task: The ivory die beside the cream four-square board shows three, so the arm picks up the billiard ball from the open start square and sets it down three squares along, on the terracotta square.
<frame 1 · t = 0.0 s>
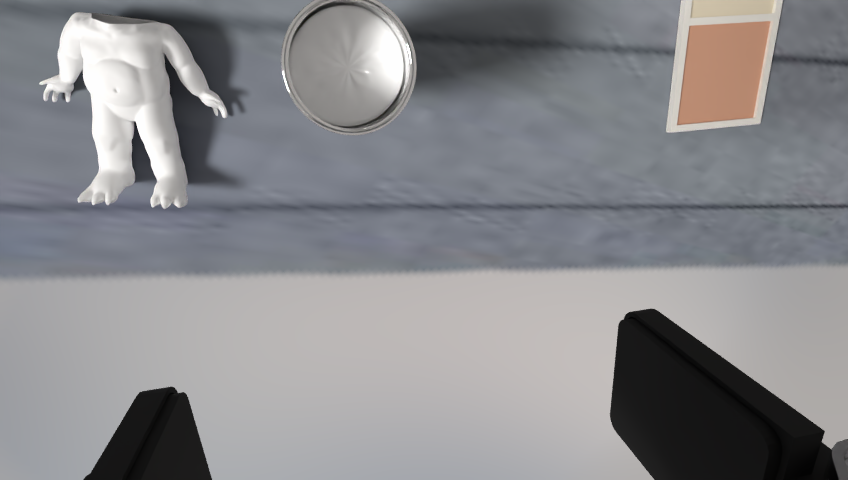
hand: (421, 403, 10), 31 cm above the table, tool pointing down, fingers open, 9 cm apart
toy creature: (146, 111, 35), on the table
beer glass: (342, 69, 37), on the table
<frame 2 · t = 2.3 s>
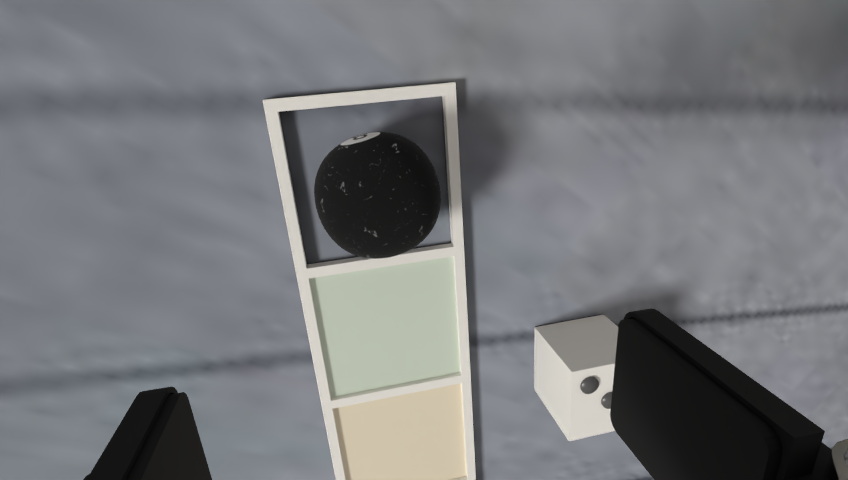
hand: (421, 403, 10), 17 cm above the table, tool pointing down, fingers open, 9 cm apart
billiard ball: (371, 181, 26), resting in board
die: (568, 352, 32), on the table
board: (396, 385, 30), on the table
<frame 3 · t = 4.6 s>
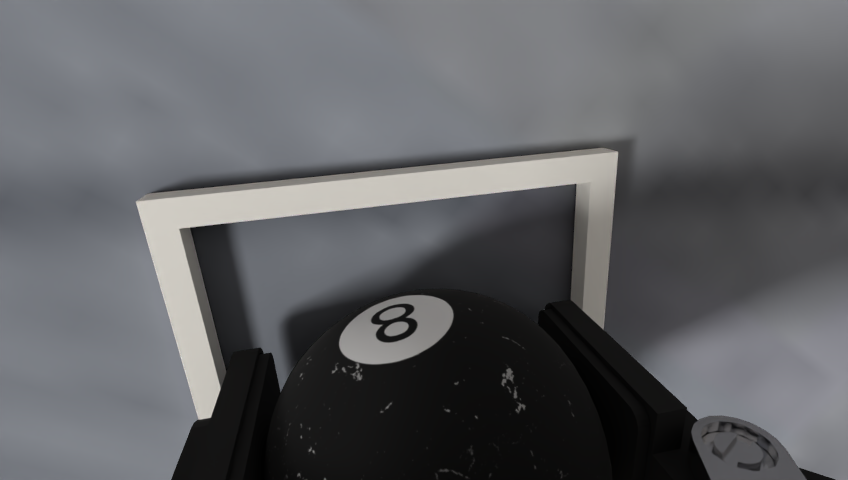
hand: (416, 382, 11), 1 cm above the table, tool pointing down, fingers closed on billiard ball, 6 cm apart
billiard ball: (408, 356, 12), resting in board, touching gripper
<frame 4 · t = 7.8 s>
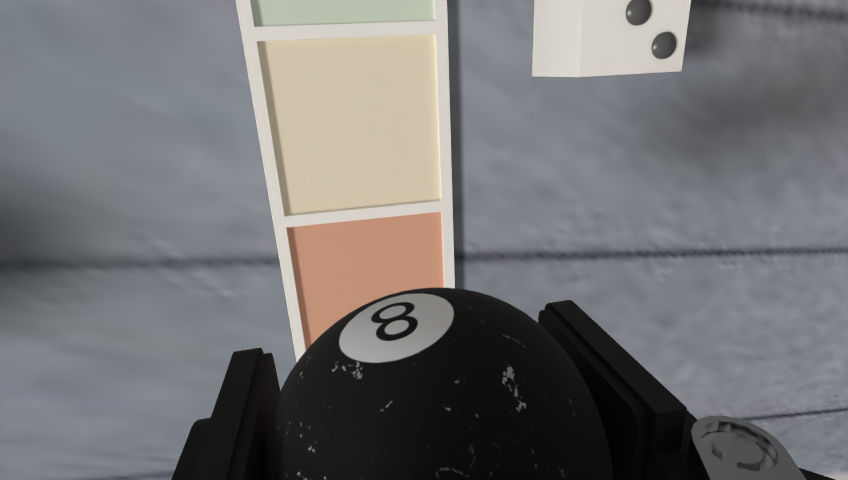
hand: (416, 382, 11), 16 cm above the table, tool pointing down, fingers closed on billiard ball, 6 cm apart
billiard ball: (408, 355, 12), point 15 cm above the table, touching gripper
die: (578, 23, 24), on the table
board: (347, 31, 22), on the table
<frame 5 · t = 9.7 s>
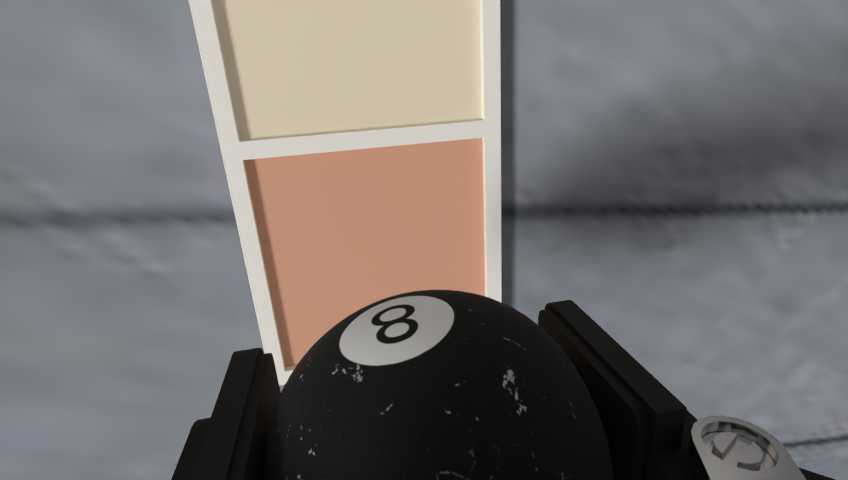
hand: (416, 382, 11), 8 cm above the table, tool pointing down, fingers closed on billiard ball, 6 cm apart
billiard ball: (408, 357, 12), point 7 cm above the table, touching gripper
when the fingers open (2 cm above the table, at t = 11.2 s): billiard ball drops 1 cm, resting on board.
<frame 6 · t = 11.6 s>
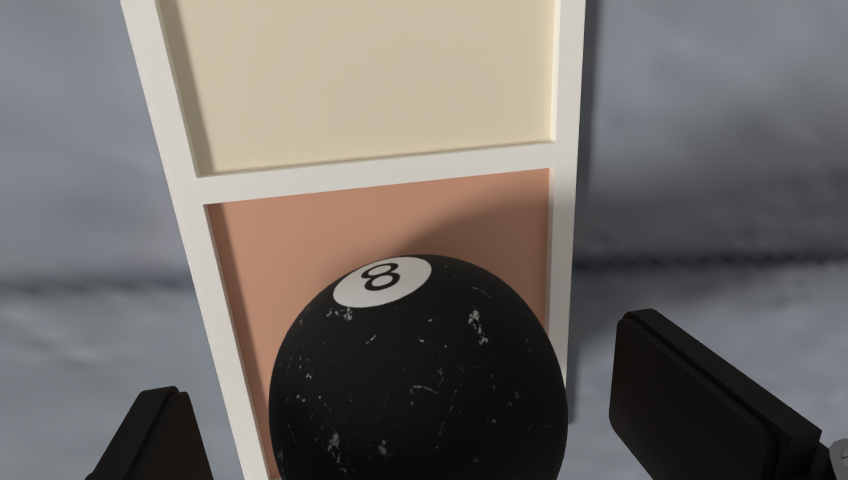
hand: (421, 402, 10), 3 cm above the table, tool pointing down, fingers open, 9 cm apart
billiard ball: (397, 323, 13), resting on board
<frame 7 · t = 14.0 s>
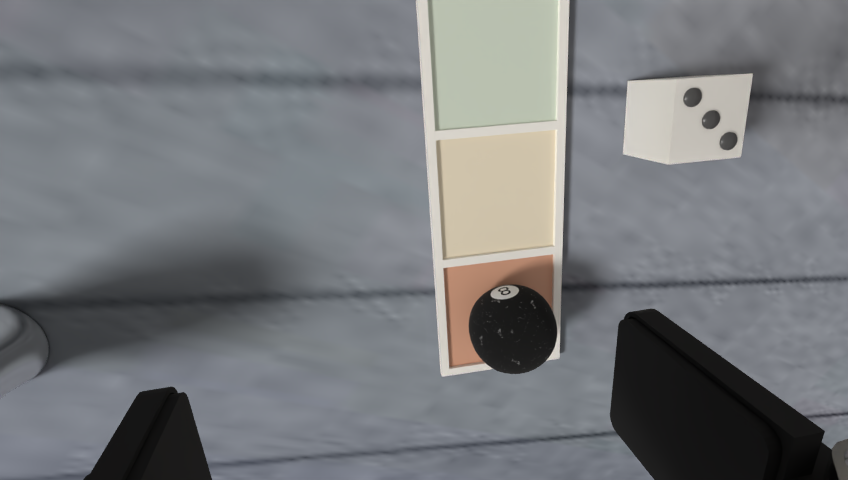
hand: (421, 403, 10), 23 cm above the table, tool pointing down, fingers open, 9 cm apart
billiard ball: (497, 308, 35), resting on board
die: (657, 115, 33), on the table
board: (494, 129, 31), on the table
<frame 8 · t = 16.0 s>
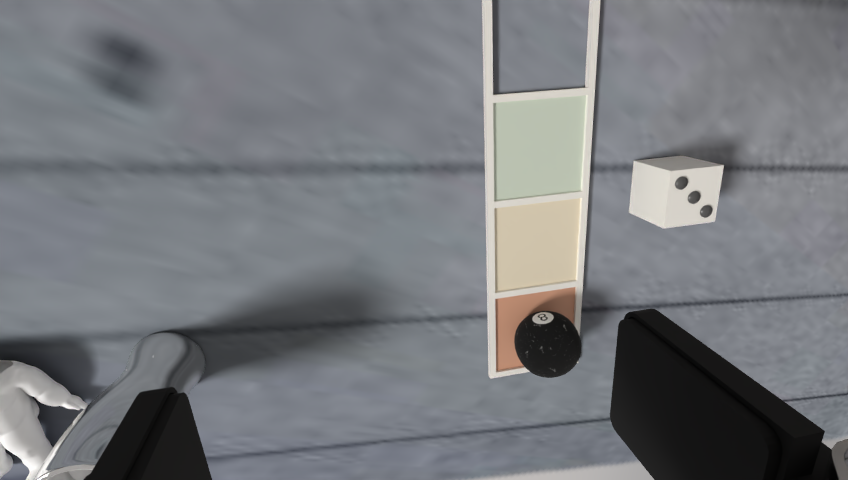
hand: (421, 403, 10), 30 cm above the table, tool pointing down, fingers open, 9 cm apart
billiard ball: (533, 326, 47), resting on board
toy creature: (19, 408, 40), on the table
beer glass: (169, 360, 41), on the table
die: (655, 184, 44), on the table
board: (536, 198, 42), on the table
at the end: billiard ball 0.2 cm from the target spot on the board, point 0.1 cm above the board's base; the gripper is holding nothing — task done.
